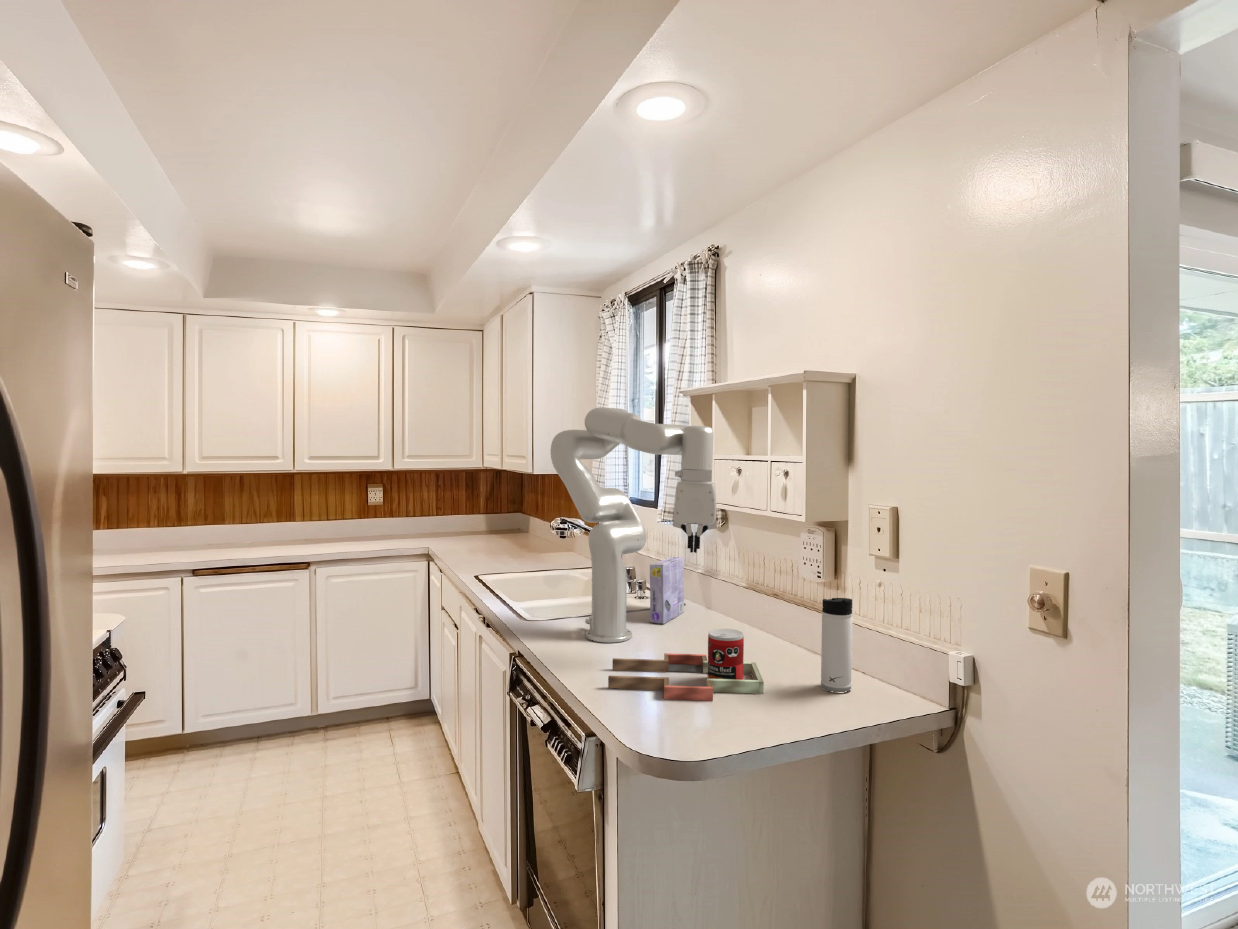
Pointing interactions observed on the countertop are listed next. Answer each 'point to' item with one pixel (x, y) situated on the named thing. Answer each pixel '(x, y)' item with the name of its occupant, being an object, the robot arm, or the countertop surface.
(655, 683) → the box
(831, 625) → the travel mug
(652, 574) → the cake pan box
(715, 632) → the canned food
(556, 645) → the countertop surface
